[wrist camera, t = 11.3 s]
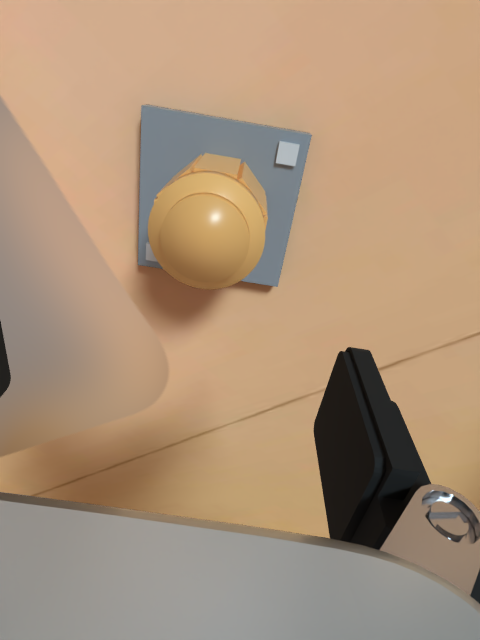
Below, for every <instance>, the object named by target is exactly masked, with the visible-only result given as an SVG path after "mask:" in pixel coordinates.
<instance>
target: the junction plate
mask: <svg viewBox="0 0 480 640" xmlns="http://www.w3.org/2000/svg"><path fill="white" fill-rule="evenodd" d="M311 136H312V135H311V134H310V133H306V132H301V131H295V130H289V129H283V128H278V127H272V126H266V125H261V124H255V123H249V122H243V121H238V120H232V119H226V118H221V117H215V116H209V115H203V114H198V113H192V112H186V111H181V110H175V109H169V108H163V107H158V106H152V105H142V110H141V154H140V199H139V243H138V265H142V266H149V267H155V268H161V269H163V268H162V266H161V265H160V264H159V263H158V261H157V259H156V258H155V256H154V254H153V252H152V249H151V246H150V243H149V237H148V220H149V216H150V212H151V210H152V207H153V205H154V199H155V198H156V197H157V196H156V195H157V194H158V193H159V192H160V191H161V189H162V188H163V187H164V186H165V185H166V184H167V183H168V182H169V181H170V180H171V179H172V178H173V177H174V176H175V175H176V174H177V173H178V172H180V171H181V170H182V169H183V168H185V167H186V166H187V165H188V164H189V163H191V162H192V161H193V160H194V159H196V158H197V157H198V156H199V155H200V154H201V155H202V156H203V155H204V154H205V153H209V154H215V155H221V156H226V157H232V158H238V159H241V163H240V165H241V164H242V163H243V162H245V163H246V164H247V165H248V167H249V168H250V170H251V171H252V173H253V174H254V176H255V177H256V179H257V180H258V182H259V183H260V185H261V186H262V187H263V189H264V190H265V195H266V201H267V214H268V220H267V225H266V230H265V244H264V249H263V253H262V255H261V258H260V260H259V262H258V263H257V265H256V266H255V268H254V269H253V270H252V271H251V272H250V273H249V274H248V275H247V276H246V277H245V278H244V279H242V280H241V281H244V282H251V283H257V284H263V285H270V286H276V287H278V282H279V278H280V273H281V269H282V265H283V260H284V256H285V251H286V247H287V242H288V238H289V233H290V229H291V225H292V220H293V216H294V211H295V207H296V202H297V198H298V193H299V189H300V185H301V180H302V176H303V171H304V167H305V162H306V158H307V153H308V149H309V145H310V140H311Z"/></svg>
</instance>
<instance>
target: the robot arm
mask: <svg viewBox="0 0 480 640" xmlns="http://www.w3.org/2000/svg"><path fill="white" fill-rule="evenodd" d="M10 379H11V377H10V370H9V365H8V359H7V354H6V349H5V343H4V338H3V333H2V328H1V322H0V397H1V396H2V395H3V393H4V392H5V391H6V390H7V388H8V386H9V384H10ZM314 437H315V444H316V450H317V457H318V463H319V470H320V476H321V482H322V489H323V495H324V502H325V508H326V515H327V521H328V528H329V534H330V539H329V538H324V537H318V536H311V535H305V534H299V533H292V532H286V531H280V530H273V529H267V528H260V527H254V526H246V525H239V524H232V523H225V522H218V521H210V520H203V519H196V518H189V517H182V516H175V515H167V514H160V513H153V512H146V511H138V510H131V509H123V508H116V507H108V506H101V505H94V504H86V503H79V502H71V501H64V500H56V499H49V498H41V497H33V496H26V495H18V494H11V493H3V492H0V640H480V511H479V510H478V509H477V508H476V507H475V506H474V505H473V504H472V503H471V502H470V501H469V500H468V499H466V498H465V497H464V496H463V495H461V494H460V493H458V492H456V491H454V490H452V489H450V488H448V487H444V486H441V485H434V484H431V482H430V480H429V478H428V475H427V473H426V471H425V468H424V466H423V464H422V461H421V459H420V457H419V454H418V452H417V450H416V447H415V445H414V443H413V440H412V438H411V436H410V433H409V431H408V429H407V426H406V424H405V422H404V419H403V417H402V415H401V412H400V410H399V408H398V406H397V404H396V403H395V402H393V401H391V400H390V397H389V395H388V393H387V390H386V388H385V385H384V383H383V381H382V378H381V376H380V373H379V371H378V369H377V366H376V364H375V361H374V359H373V357H372V354H371V352H370V351H369V350H364V349H358V348H351V347H348V348H347V349H346V351H345V352H343V351H340V352H339V354H338V356H337V359H336V362H335V365H334V367H333V370H332V373H331V376H330V379H329V382H328V385H327V388H326V391H325V393H324V396H323V399H322V402H321V405H320V408H319V411H318V414H317V416H316V419H315V423H314Z"/></svg>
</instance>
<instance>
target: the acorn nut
mask: <svg viewBox="0 0 480 640" xmlns="http://www.w3.org/2000/svg"><path fill="white" fill-rule="evenodd" d="M240 163H241V159H238V158H232V157H226V156H221V155H215V154H209V153H205V154H204V155H203V156H202V155H201V154H200V155H199V156H198V157H197V158H196V159H194V160H193V161H192V162H191V163H189V164H188V165H187V166H186V167H185V168H183V169H182V170H181V171H180V172H178V173H177V174H176V175H175V176H174V177H173V178H172V179H171V180H170V181H169V182H168V183H167V184H166V185H165V186H164V187H163V188H162V189H161V191H160V192H159V193H158V194H157V195H156V196H157V197H156V198H155V199H154V205H153V207H152V210H151V212H150V216H149V220H148V237H149V243H150V246H151V249H152V252H153V254H154V256H155V258H156V259H157V261H158V263H159V264H160V265H161V266H162V268H163V269H164V270H165V271H166V272H167V273H168V274H169V275H171V276H172V277H173V278H175V279H176V280H178V281H180V282H181V283H184V284H186V285H188V286H191V287H195V288H199V289H220V288H225V287H228V286H231V285H233V284H236V283H237V282H239V281H241V280H242V279H244V278H245V277H246V276H247V275H248V274H249V273H250V272H251V271H252V270H253V269H254V268H255V266H256V265H257V263H258V262H259V260H260V258H261V255H262V253H263V249H264V244H265V230H266V225H267V220H268V214H267V201H266V195H265V190H264V189H263V187H262V186H261V185H260V183H259V182H258V180H257V179H256V177H255V176H254V174H253V173H252V171H251V170H250V168H249V167H248V165H247V164H246V163H245V162H243V163H242V164H241V165H240Z"/></svg>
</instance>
